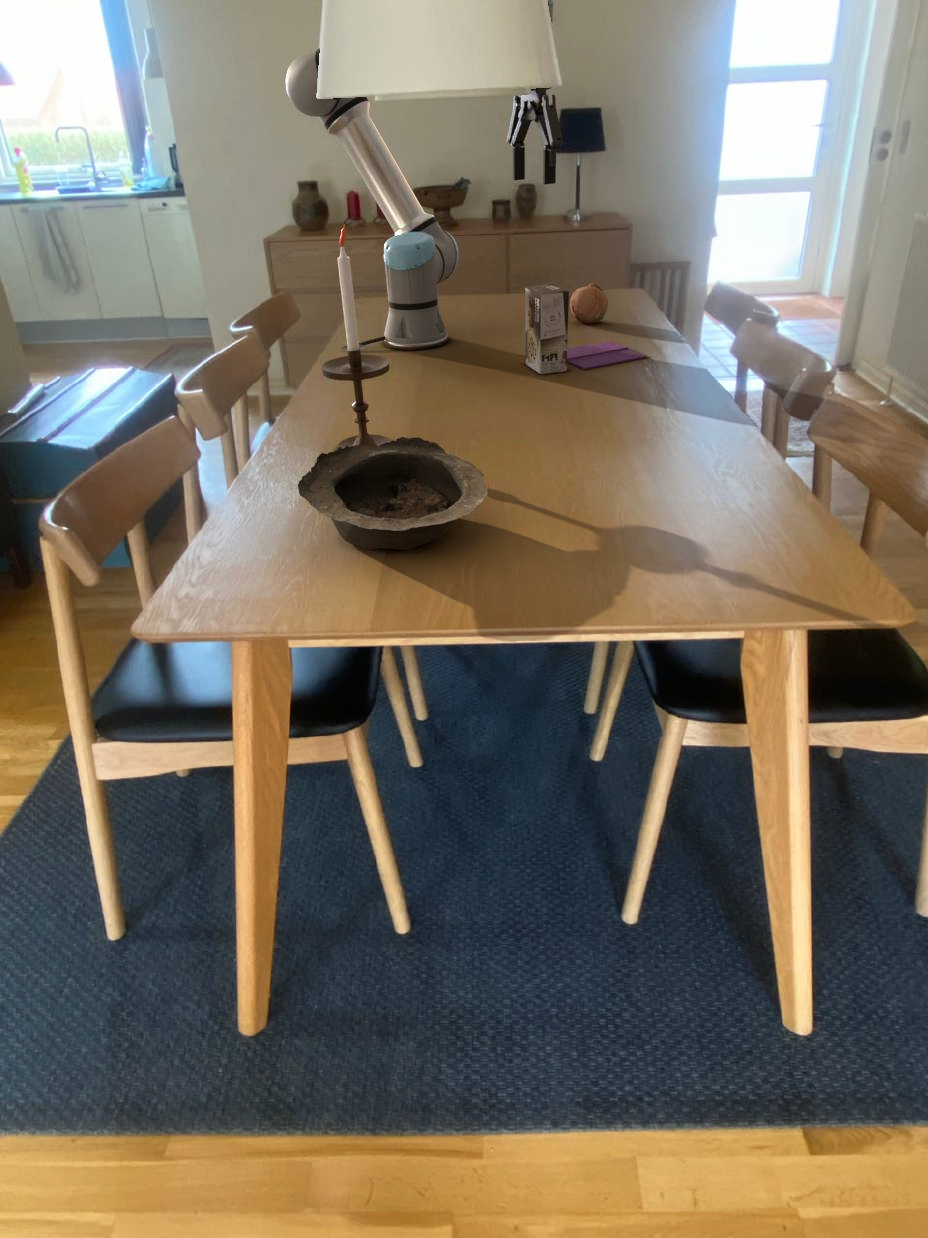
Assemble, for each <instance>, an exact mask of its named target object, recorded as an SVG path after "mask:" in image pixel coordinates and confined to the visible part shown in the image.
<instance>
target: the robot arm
mask: <svg viewBox="0 0 928 1238" xmlns="http://www.w3.org/2000/svg"><path fill="white" fill-rule="evenodd" d="M548 6H549V12H550V17H551V22H552V23H553V15H554V0H548ZM320 48H321V47H319V48H317V49H314V50H313V51H310V52H306V53H303V54H301V55H299V56H297V57H295V59H293V60H292V62H291V63H290V64H289V66H288V68H287V72H286V75H285V89H286V94H287V96H288V98H289V100H290V102H291V103H292V105H293V106H294V107H295V108H296V110H298V111H299V112H300V113H301V114H304V115H305V116H308V117H313V118H314V117H316V118H318V119H319V120H320V122H321V123H322V125H323V127H324V129H325V130H326V132H327V133H328V134H329V135H332V136H335V137H338V139H339V141H340V142H341V144H342V146H343V147H344V150H345V151H346V153H347V154H348V156H349V158H350V159H351V161H352V163H353V165H354V166H355V169H357V171H358V173H359V175H360V177H361V178H362V180H363V182H364V183H365V185H366V186H367V188H368V190H369V192H370V193H371V195H372V196H373V199H374V201H375V202H376V204H377V205H378V207H379V209H380V210H381V212H382V214H383V215H384V217H385V219H386V220H387V222H388V224H389V226H390V227H391V229H392V230H393V232H394V235H393V236H391V237H389V238H388V239H387V240H386V241H385V243H384V245H383V262H384V271H385V281H386V291H387V300H388V313H387V319H386V322H385V329H384V333H383V336H380V337H375V338H372V339H368V340H364V341H361V342H359V345H364V346H366V345H367V346H368V345H370V344H371V345H372V344H374V343H378V342H382V341H384V345H385V347H388V348H390V349H395V350H403V351H405V350H406V351H416V350H425V349H427V350H428V349H432V348H436V347H439V346H442V345H444V344H446V343H447V342H448V330H447V328H446V325H445V322H444V320H443V316H442V314H441V312H440V311H441V310H440V308H439V301H438V285H439V284H442V283H443V282H445V281H446V280H448V279H449V278H450V276H452V274H453V273H454V272H455V270H456V268H457V267H458V263H459V258H460V253H459V252H460V251H459V247H458V244H457V241H456V240H455V238H454V237H453V235H452V234H450V232H448V231H447V230H444V229H442V227H441V225H440V224H439V222H438V220H437V218H436V217H435V215H434V214H430V213H427V212H425V211H424V209H423V207H422V205H421V203H420V202H419V200H418V198H417V196H416V195H415V193H414V191H413V190H412V188H411V186H410V184H409V182H408V181H407V179H406V177H405V176H404V174H403V172H402V170H401V169H400V167H399V165H398V163H397V161H396V160H395V158H394V157H393V154H392V153H391V151H390V149H389V147H388V146H387V144H386V142H385V140H384V139H383V137H382V135H381V133H380V132H379V130H378V128H377V127H376V125H375V123H374V121H373V120H372V118H371V116H370V107H371V103H370V101H369V99H368V97H367V96H366V97H355V98H333V99H317V98H316V93H317V78H318V65H319V53H320ZM551 89H552V87H550V88H536V89H531V93H530V94H529V95H522V94H521V95H514V96H513V103H512V104H513V106H512V111H511V112H512V113H511V116H510V123H509V129H508V133H507V138H506V143H507V144H508V145H510V147H511V148H512V181H524V180H526V144H525V139H526V137H527V134H528V131H529V129H530V126H531V123H532V122H535V123H536V125H537V127H538V131H539V133H540V135H541V138H542V141H543V144H544V146H543V148H542V149H543V150H542V152H543V153H542V185H555V184H556V180H557V179H556V177H557V175H556V174H557V150H558V149H559V147H562V146H563V145H564V140H563V136H562V130H561V126H560V121H559V115H558V111H557V101H556V95H555V94H547V90H548V91H549V90H551Z"/></svg>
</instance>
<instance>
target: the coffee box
mask: <svg viewBox="0 0 928 1238" xmlns="http://www.w3.org/2000/svg"><path fill="white" fill-rule="evenodd" d="M569 298H570V291H569V290H568V289H566V288H563V287H561V286H558V285H556V284H554V283H545V284H538V285H533V286H525V287H524V313H525V314H524V317H525V319H524V321H525V322H524V325H525V329H524V330H525V331H524V332H525V365H526V366H527V367H529V368H530V369H532V370H533V371H535V372H536V373H538V374H539V375H546V374H554V373H563V372H567V370H568V362H567V349H568V342H569V341H568V339H569V334H568V333H569V308H570V299H569Z"/></svg>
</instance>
